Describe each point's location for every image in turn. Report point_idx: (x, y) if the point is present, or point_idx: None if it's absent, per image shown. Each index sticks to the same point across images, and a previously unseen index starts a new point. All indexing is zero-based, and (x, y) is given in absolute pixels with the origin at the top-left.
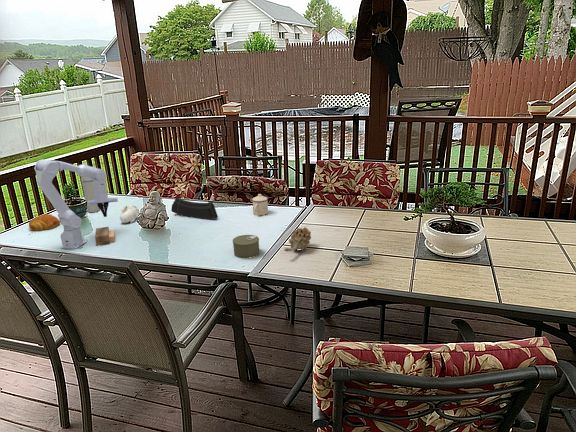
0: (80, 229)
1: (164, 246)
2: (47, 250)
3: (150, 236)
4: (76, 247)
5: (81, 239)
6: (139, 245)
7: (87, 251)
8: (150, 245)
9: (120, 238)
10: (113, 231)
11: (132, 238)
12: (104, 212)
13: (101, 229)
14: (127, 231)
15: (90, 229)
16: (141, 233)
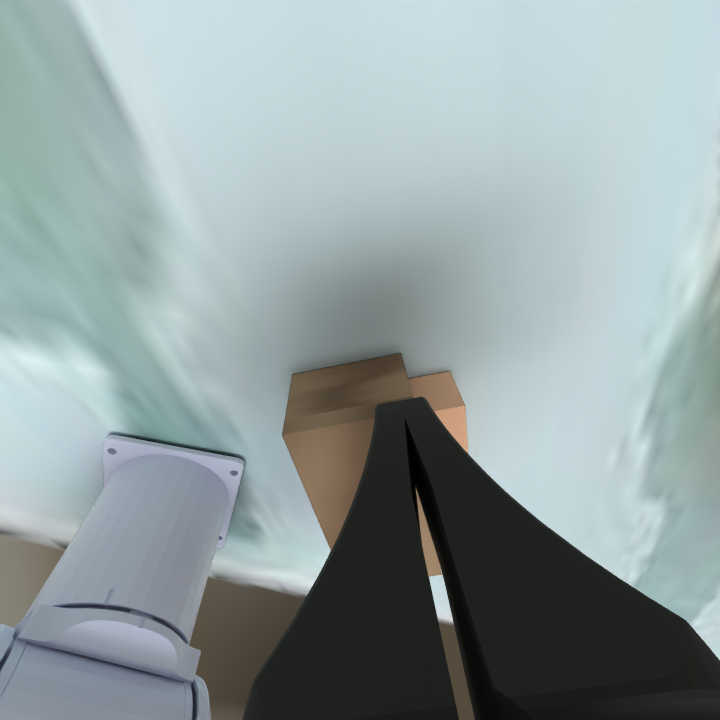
0: (190, 600)
1: (716, 568)
2: (23, 535)
3: (714, 444)
4: (222, 545)
5: (220, 528)
6: (601, 546)
7: (313, 570)
8: (657, 552)
9: (497, 440)
10: (462, 439)
11: (583, 454)
12: (414, 493)
13: (356, 470)
14: (570, 292)
15: (60, 65)
16: (677, 374)
